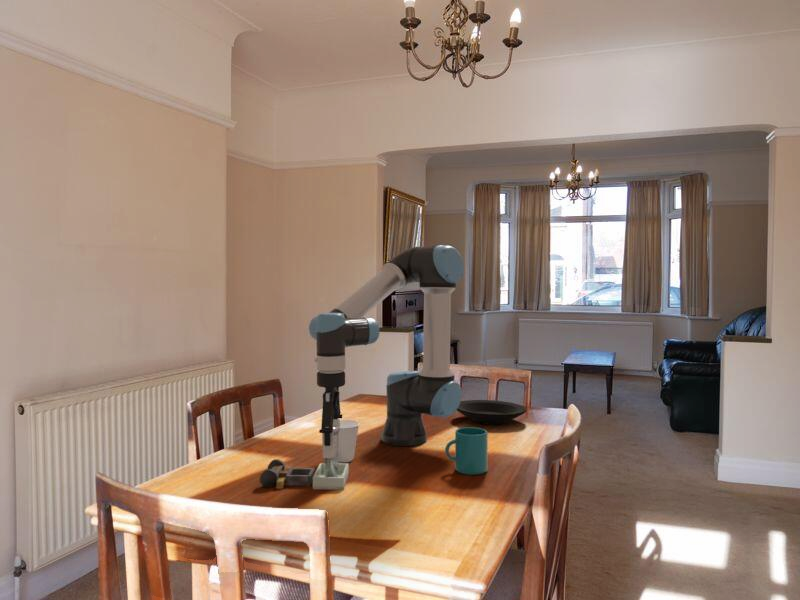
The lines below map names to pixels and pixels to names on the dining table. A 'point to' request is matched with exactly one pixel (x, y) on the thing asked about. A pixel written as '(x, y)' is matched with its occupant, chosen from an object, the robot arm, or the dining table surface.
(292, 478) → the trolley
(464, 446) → the cup
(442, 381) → the robot arm
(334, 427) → the pin
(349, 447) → the cup
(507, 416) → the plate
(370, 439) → the dining table surface
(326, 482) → the tray
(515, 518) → the dining table surface
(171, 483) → the dining table surface
